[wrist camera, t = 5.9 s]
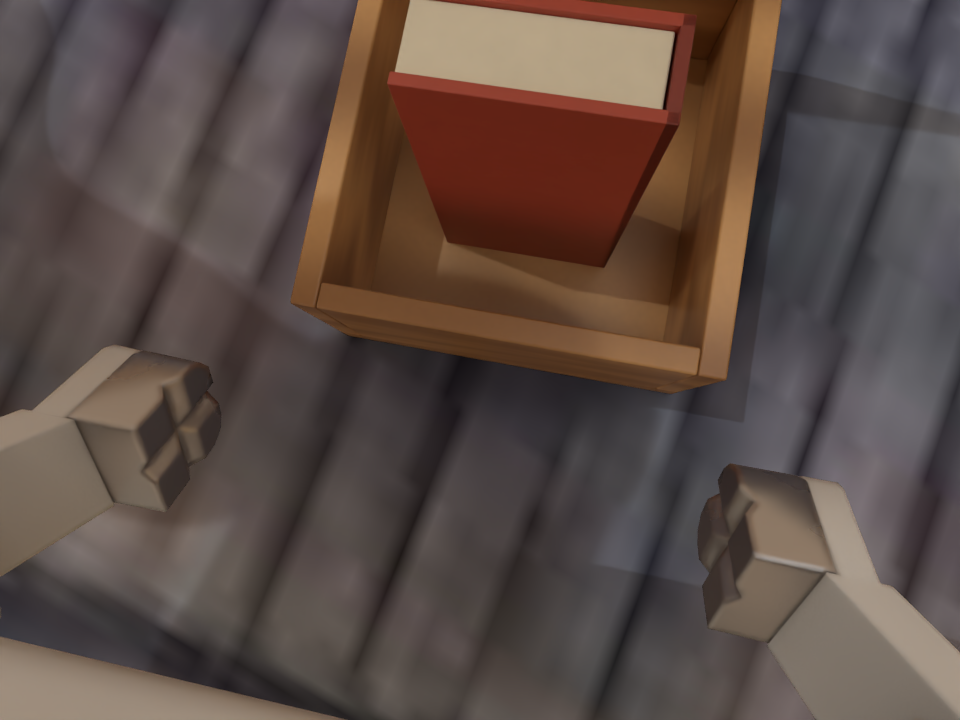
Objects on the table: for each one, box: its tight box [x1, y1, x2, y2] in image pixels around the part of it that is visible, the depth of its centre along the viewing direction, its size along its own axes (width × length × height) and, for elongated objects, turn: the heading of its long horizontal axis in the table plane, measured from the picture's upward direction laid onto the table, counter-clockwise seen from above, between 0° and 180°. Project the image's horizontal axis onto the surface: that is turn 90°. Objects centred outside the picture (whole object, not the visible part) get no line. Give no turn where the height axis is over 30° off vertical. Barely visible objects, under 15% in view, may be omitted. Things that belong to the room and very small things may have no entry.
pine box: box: [291, 0, 782, 394], centre depth 21 cm, size 14×13×6 cm
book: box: [387, 0, 697, 268], centre depth 17 cm, size 2×6×10 cm, turn 79°
